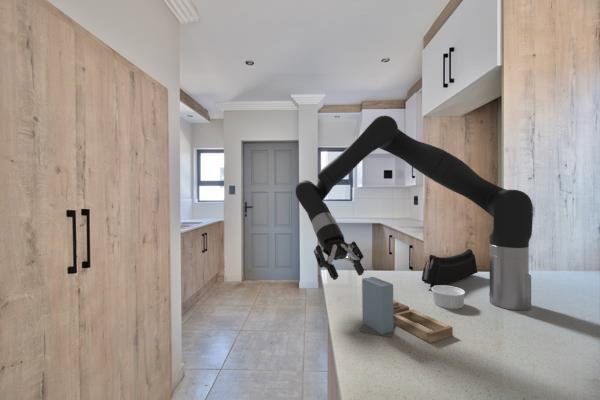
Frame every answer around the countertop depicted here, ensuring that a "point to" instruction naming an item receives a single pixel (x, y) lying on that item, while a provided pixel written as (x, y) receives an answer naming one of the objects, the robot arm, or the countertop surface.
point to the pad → (374, 331)
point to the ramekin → (448, 296)
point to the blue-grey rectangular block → (377, 304)
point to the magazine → (449, 268)
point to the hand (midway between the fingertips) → (349, 276)
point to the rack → (403, 320)
